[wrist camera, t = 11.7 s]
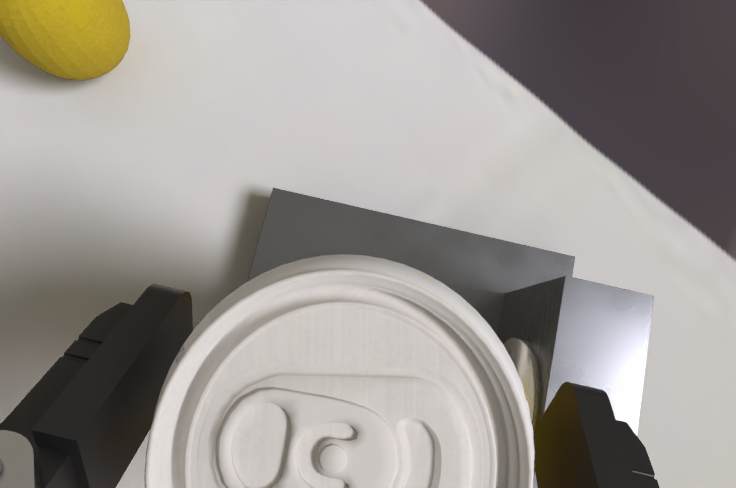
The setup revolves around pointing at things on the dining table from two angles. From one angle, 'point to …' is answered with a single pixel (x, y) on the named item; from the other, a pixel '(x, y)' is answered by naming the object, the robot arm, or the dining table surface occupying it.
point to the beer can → (342, 387)
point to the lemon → (67, 35)
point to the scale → (489, 294)
